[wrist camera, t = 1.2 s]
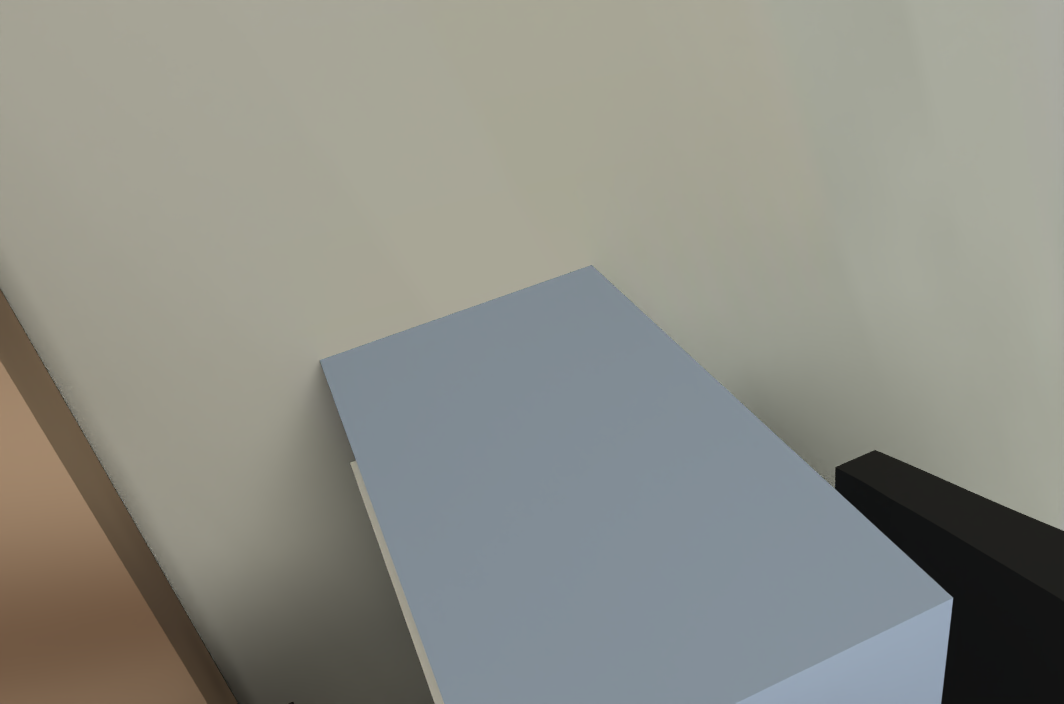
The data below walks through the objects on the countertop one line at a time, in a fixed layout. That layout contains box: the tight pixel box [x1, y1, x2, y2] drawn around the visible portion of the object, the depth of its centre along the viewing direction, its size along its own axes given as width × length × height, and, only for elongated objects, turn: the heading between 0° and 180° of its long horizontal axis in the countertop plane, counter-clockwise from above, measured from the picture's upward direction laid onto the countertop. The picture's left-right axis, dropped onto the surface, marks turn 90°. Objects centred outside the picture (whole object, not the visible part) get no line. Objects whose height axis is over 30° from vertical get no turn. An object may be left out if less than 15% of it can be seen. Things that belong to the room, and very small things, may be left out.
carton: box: [320, 265, 953, 704], centre depth 11 cm, size 4×6×7 cm
